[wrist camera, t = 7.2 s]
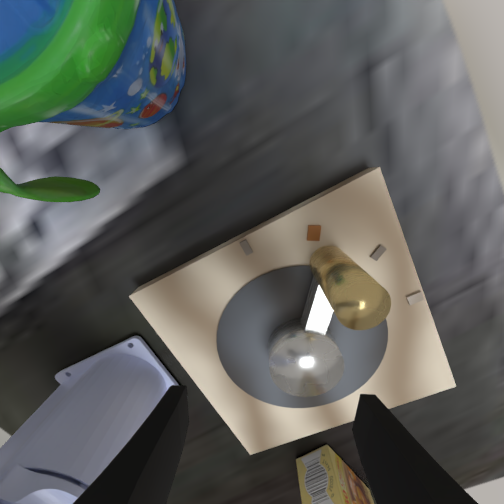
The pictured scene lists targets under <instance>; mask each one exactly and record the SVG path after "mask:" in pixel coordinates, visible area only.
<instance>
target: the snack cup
mask: <svg viewBox="0 0 504 504" xmlns="http://www.w3.org/2000/svg"><path fill="white" fill-rule="evenodd" d="M185 76H186V55H185V38H184V33H183V29H182V26H181V23H180V20H179V17H178V14H177V10H176V6H175V1H174V0H0V132H2V131H4V130H6V129H9V128H11V127H15V126H21V125H26V124H31V123H35V122H50V123H61V124H70V125H80V126H91V127H102V128H111V127H113V128H117V129H131V128H138V127H145V126H148V125H151V124H153V123H155V122H157V121H159V120H160V119H161V118H162V117H163V116H165V115H166V114H167V113H170V112H171V111H172V110H173V108H174V106H175V105H176V104H177V102H178V97H179V95H180V91H181V89H182V88H183V86H184V82H185ZM0 192H3V193H9V194H12V195H15V196H18V197H23V198H28V199H33V200H40V201H47V202H74V201H82V200H86V199H90V198H93V197H95V196H96V195H98V194H99V193H100V188H99V187H98V186H97V185H95V184H94V183H93V182H90V181H86V180H82V179H76V178H69V177H48V178H42V179H37V180H33V181H29V182H25V183H22V184H15V183H14V182H13V181H12V180H11V179H10V178H9V177H8V176H7V175H6V174H5V172H4V171H3V170H2V169H1V168H0Z"/></svg>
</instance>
